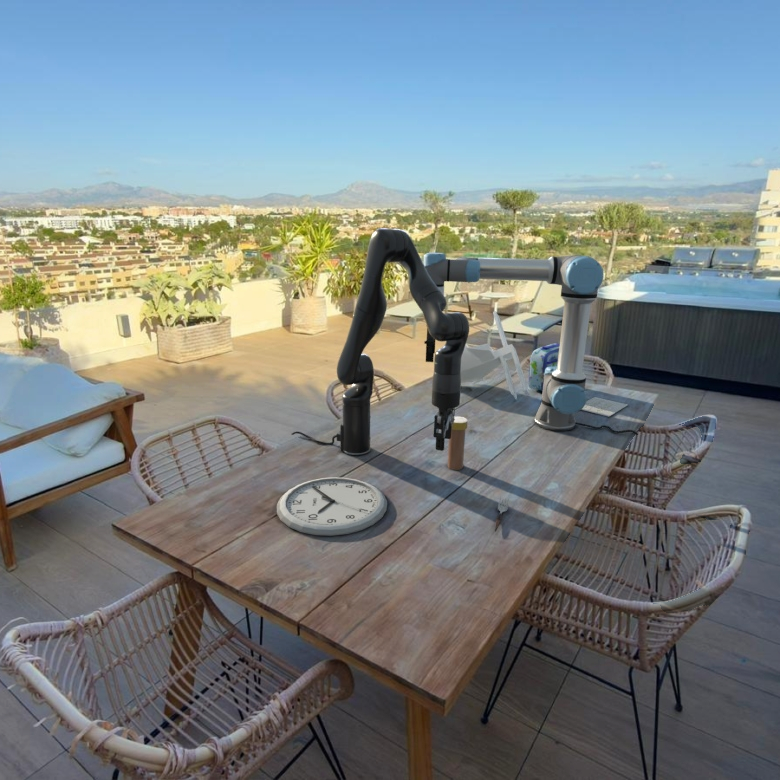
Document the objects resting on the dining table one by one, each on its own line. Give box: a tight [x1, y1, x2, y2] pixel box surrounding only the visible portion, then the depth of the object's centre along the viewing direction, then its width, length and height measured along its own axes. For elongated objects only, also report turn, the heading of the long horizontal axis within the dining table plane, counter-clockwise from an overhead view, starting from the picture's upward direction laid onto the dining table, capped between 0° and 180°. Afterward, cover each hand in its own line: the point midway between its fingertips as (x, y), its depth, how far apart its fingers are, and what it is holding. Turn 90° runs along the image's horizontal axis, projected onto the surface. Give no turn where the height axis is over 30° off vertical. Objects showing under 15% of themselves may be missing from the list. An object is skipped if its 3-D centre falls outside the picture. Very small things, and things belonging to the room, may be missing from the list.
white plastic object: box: [460, 310, 531, 400], centre depth 245 cm, size 37×45×31 cm
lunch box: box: [528, 343, 560, 392], centre depth 249 cm, size 26×11×21 cm, turn 134°
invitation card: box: [580, 396, 629, 418], centre depth 226 cm, size 21×1×15 cm
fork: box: [494, 496, 510, 532], centre depth 138 cm, size 3×16×2 cm, turn 160°
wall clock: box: [276, 476, 388, 537], centre depth 142 cm, size 30×2×30 cm
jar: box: [447, 429, 466, 471], centre depth 165 cm, size 5×5×16 cm
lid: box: [452, 415, 468, 431], centre depth 163 cm, size 6×6×2 cm
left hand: (443, 444), depth 144 cm, fingers open, 8 cm apart
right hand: (430, 357), depth 190 cm, fingers open, 13 cm apart
